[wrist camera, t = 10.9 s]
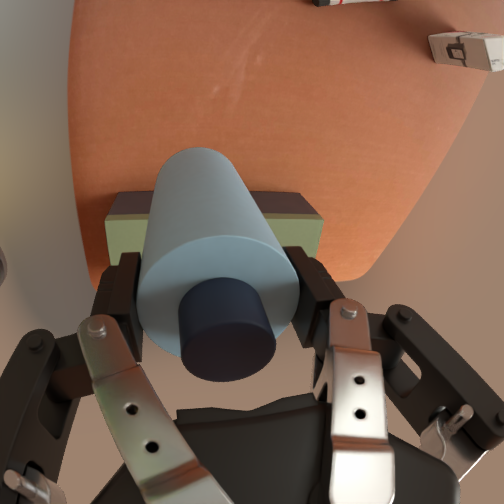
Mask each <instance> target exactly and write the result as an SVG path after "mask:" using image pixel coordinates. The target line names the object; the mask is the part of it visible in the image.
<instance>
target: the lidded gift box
mask: <svg viewBox="0 0 504 504" xmlns="http://www.w3.org/2000/svg"><path fill="white" fill-rule="evenodd" d="M249 193H250V194H251V196H252V198H253V199H254V201H255V203H256V204H257V206H258V208H259V210H260V211H261V213H262V215H263V216H264V218H265V220H266V221H267V223H268V225H269V226H270V228H271V230H272V232H273V233H274V235H275V237H276V238H277V240H278V242H279V244H280V245H281V247H283V246H301V247H302V248H303V250H304V251H305V253H306V254H307V256H308V257H313V258H315V257H316V253H317V249H318V245H319V240H320V236H321V232H322V227H323V223H324V219H323V218H322V217H321V216H320V215H319V214H318V213H317V212H316V210H315V209H314V208H313V207H312V206H311V205H310V204H309V203H308V202H307V201H306V200H305V198H304V197H303V196H302V195H301V194H300V193H288V192H260V191H249ZM153 194H154V191H137V192H119V193H118V195H117V197H116V199H115V201H114V203H113V205H112V207H111V209H110V211H109V213H108V215H107V217H106V219H105V221H104V222H105V230H106V238H107V245H108V252H109V258H110V264H111V266H112V265H118V264H119V260H120V256H121V253H122V252H140V254H141V259H142V253H143V247H144V241H145V235H146V229H147V224H148V219H149V213H150V208H151V203H152V198H153Z"/></svg>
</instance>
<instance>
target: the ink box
mask: <svg viewBox="0 0 504 504" xmlns="http://www.w3.org/2000/svg"><path fill="white" fill-rule="evenodd" d="M428 40H429V44H430V47H431V51H432V54H433V58H434V61H435V62H436V63H440V64H448V65H456V66H463V67H469V68H475V69H480V70H485V71H491V72H495V71H500V70H504V35H497V34H488V33H478V32H464V31H455V32H447V33H441V34H435V35H429V36H428Z"/></svg>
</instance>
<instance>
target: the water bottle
mask: <svg viewBox="0 0 504 504" xmlns="http://www.w3.org/2000/svg"><path fill="white" fill-rule="evenodd" d="M299 296H300V286H299V281H298V277H297V274H296V272H295V270H294V268H293V266H292V264H291V263H290V261H289V259H288V257H287V256H286V254H285V252H284V251H283V249H282V247H281V245H280V244H279V242H278V240H277V238H276V237H275V235H274V233H273V232H272V230H271V228H270V226H269V225H268V223H267V221H266V220H265V218H264V216H263V215H262V213H261V211H260V210H259V208H258V206H257V204H256V203H255V201H254V199H253V198H252V196H251V194H250V193H249V191H248V189H247V188H246V186H245V184H244V183H243V181H242V179H241V178H240V176H239V174H238V173H237V171H236V170H235V168H234V166H233V165H232V163H231V162H230V161H229V160H228V159H227V158H226V157H225V156H224V155H222V154H221V153H219V152H217V151H215V150H212V149H209V148H203V147H195V148H189V149H185V150H182V151H180V152H178V153H176V154H175V155H173V156H172V157H170V158H169V159H168V160H167V161H166V162H165V164H164V165H163V166H162V168H161V169H160V172H159V174H158V177H157V180H156V184H155V189H154V194H153V198H152V203H151V208H150V213H149V219H148V224H147V229H146V235H145V241H144V247H143V253H142V259H141V266H140V273H139V280H138V287H137V295H136V308H137V313H138V318H139V322H140V324H141V326H142V328H143V330H144V331H145V332H146V334H147V336H148V337H149V338H150V339H151V340H152V341H153V342H154V343H155V344H156V345H158V346H159V347H160V348H162V349H164V350H165V351H167V352H169V353H171V354H173V355H175V356H178V357H181V360H182V362H183V365H184V366H185V367H186V369H187V370H188V371H189V372H190V373H192V374H193V375H194V376H196V377H199V378H201V379H204V380H208V381H213V382H229V381H235V380H240V379H243V378H246V377H248V376H251V375H253V374H255V373H257V372H258V371H260V370H261V369H263V368H264V367H265V366H266V365H267V364H268V363H269V362H270V360H271V359H272V357H273V356H274V353H275V350H276V338H277V337H278V336H279V335H280V334H281V333H282V332H283V331H284V330H285V328H286V327H287V326H288V325H289V323H290V322H291V320H292V318H293V316H294V314H295V312H296V310H297V306H298V303H299Z"/></svg>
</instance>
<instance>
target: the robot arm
mask: <svg viewBox="0 0 504 504" xmlns="http://www.w3.org/2000/svg"><path fill="white" fill-rule="evenodd" d="M282 249H283V251H284V252H285V254H286V256H287V257H288V259H289V261H290V263H291V264H292V266H293V268H294V270H295V272H296V274H297V277H298V281H299V286H300V296H299V303H298V306H297V310H296V312H295V314H294V316H293V318H292V320H291V322H292V324H293V327H294V329H295V331H296V333H297V336H298V338H299V340H300V342H301V345H302V347H303V348H309V347H314V349H315V353H314V356H313V364H312V375H311V386H310V393H307V394H302V395H296V396H291V397H285V398H281V399H279V400H276V401H274V402H271V403H269V404H266V405H264V406H261V407H259V408H257V409H254V410H250V411H242V410H230V409H222V408H213V407H210V408H196V409H180V410H177V411H176V412H177V419H176V420H172V419H171V417H170V416H169V414H168V413H167V411H166V409H165V408H164V406H163V404H162V403H161V401H160V399H159V397H158V396H157V394H156V392H155V390H154V389H153V387H152V385H151V383H150V381H149V380H148V378H147V376H146V374H145V372H144V370H143V369H142V367H141V366H140V364H139V365H137V363H136V362H142V342H143V328H142V326H141V324H140V322H139V318H138V313H137V308H136V295H137V287H138V280H139V273H140V266H141V254H140V252H122V253H121V256H120V260H119V264H118V265H112V266H109V267H108V268H107V269H106V270H105V271H104V272H103V273H102V276H101V279H100V284H99V286H98V289H97V290H98V291H97V293H96V296H95V300H94V304H93V308H92V312H91V315H90V317H88V318H86V319H85V320H83V321H82V322H81V324H80V325H79V327H78V329H77V333H75V334H72V335H69V336H65V337H61V338H57V339H55V338H54V336H53V334H52V333H51V332H50V331H48V330H45V329H36V330H33V331H30V332H28V333H27V334H26V335H24V336H23V337H22V339H21V340H20V342H19V344H18V346H17V347H16V349H15V351H14V353H13V354H12V356H11V358H10V360H9V362H8V364H7V366H6V367H5V369H4V371H3V373H2V376H1V377H0V504H67V502H66V497H65V494H64V492H63V491H62V489H61V488H60V487H59V486H58V485H57V480H58V476H59V471H60V467H61V464H62V460H63V456H64V452H65V448H66V445H67V441H68V438H69V434H70V431H71V427H72V424H73V421H74V417H75V414H76V411H77V408H78V405H79V402H80V399H81V397H84V396H87V395H91V394H95V396H96V399H97V401H98V404H99V406H100V409H101V411H102V414H103V416H104V419H105V421H106V423H107V426H108V428H109V430H110V432H111V435H112V437H113V439H114V441H115V443H116V446H117V448H118V450H119V452H120V454H121V456H122V458H123V460H124V463H123V464H122V466H121V467H120V468H119V469H118V470H117V472H116V473H115V474H114V475H113V477H112V478H111V479H110V480H109V482H108V483H107V484H106V485H105V486H104V488H103V489H102V490H101V491H100V492H99V494H98V495H97V496H96V497H95V498H94V500H93V501H92V502H91V503H90V504H460V485H459V481H460V480H461V479H462V478H463V477H464V476H465V475H466V474H467V473H468V472H469V471H470V470H471V469H472V468H473V466H474V465H475V464H476V463H477V462H478V461H479V460H480V459H481V458H482V457H484V456H485V455H486V454H488V453H489V452H490V451H491V450H493V449H494V448H495V447H496V446H498V445H499V444H500V443H501V442H502V441H503V440H504V402H503V401H502V400H501V398H500V397H499V396H498V395H497V394H496V393H495V392H494V391H493V390H492V389H491V388H490V387H489V385H488V384H487V383H486V382H485V381H484V380H483V379H482V378H481V377H480V376H479V375H478V373H477V372H476V371H475V370H474V369H473V368H472V367H471V366H470V365H469V364H468V363H467V362H466V361H465V360H464V359H463V358H462V357H461V356H460V355H459V354H458V353H457V352H456V351H455V350H454V349H453V348H452V347H451V346H450V345H449V344H448V343H447V342H446V341H445V340H444V339H443V338H442V337H441V336H440V335H439V334H438V333H437V332H436V331H435V330H434V329H433V328H432V327H431V326H430V325H429V324H428V323H427V322H426V321H425V320H424V319H423V318H422V317H421V316H420V315H418V314H417V313H416V312H415V311H414V310H413V309H411V308H410V307H407V306H405V305H400V304H395V305H392V306H390V307H389V308H388V310H387V312H386V315H382V314H373V313H367V311H366V309H365V307H364V306H363V305H362V304H360V303H359V302H357V301H355V300H352V299H348V298H345V296H344V295H343V293H342V292H341V290H340V289H339V287H338V286H337V285H336V283H335V282H334V280H333V279H332V277H331V276H330V274H329V273H327V270H326V269H325V267H324V266H323V264H322V263H320V262H319V261H318V260H316V259H315V258H313V257H308V256H307V254H306V253H305V251H304V250H303V248H302V247H301V246H283V247H282ZM404 352H406V353H407V354H408V355H409V356H410V357H411V359H413V361H414V362H415V363H416V364H417V365H418V366H419V368H420V370H421V374H422V375H421V379H420V380H419V379H418V377H417V376H416V375H415V374H414V373H413V372H412V371H411V369H410V368H409V367H408V366H407V365H406V364H405V363H404V362H403V360H402V359H401V357H402V356H403V354H404ZM385 394H386V395H387V396H388V397H389V399H390V400H391V401H392V402H393V404H394V405H395V406H396V407H397V408H398V410H399V411H400V412H401V414H402V415H403V416H404V417H405V418H406V420H407V421H408V422H409V424H410V425H411V426H412V428H413V429H414V430H415V431H416V433H417V434H418V435H419V436H420V442H421V445H420V447H419V449H418V448H417V447H415V446H413V445H411V444H409V443H407V442H405V441H403V440H401V439H399V438H398V437H396V436H394V435H392V434H391V433H389V432H388V429H387V428H388V427H387V414H386V413H387V412H386V399H385Z"/></svg>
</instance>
